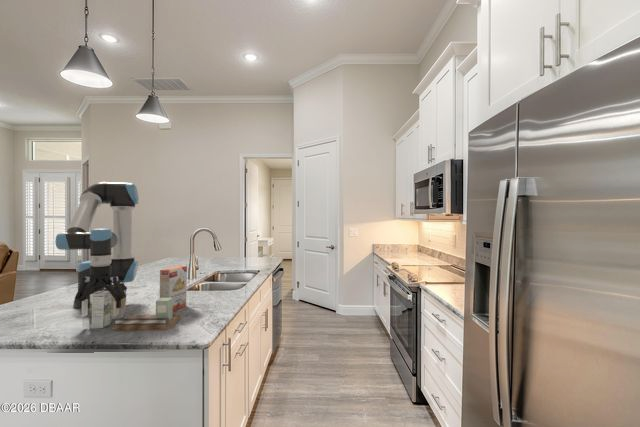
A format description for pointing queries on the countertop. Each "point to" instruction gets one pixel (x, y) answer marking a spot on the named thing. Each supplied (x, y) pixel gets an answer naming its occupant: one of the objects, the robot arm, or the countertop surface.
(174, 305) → the cracker box
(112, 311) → the coffee cup
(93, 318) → the syrup box
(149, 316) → the shelf board
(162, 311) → the pale green box
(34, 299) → the countertop surface
